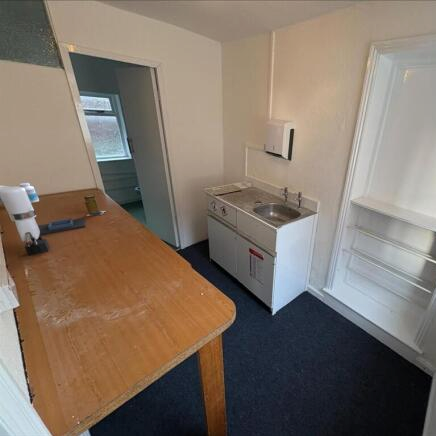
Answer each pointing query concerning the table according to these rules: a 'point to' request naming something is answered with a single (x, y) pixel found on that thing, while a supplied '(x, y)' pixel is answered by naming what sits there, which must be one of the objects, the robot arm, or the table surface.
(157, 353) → the table surface
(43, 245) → the dark grey block
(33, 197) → the pill bottle
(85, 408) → the table surface
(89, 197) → the condiment
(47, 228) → the base pad
